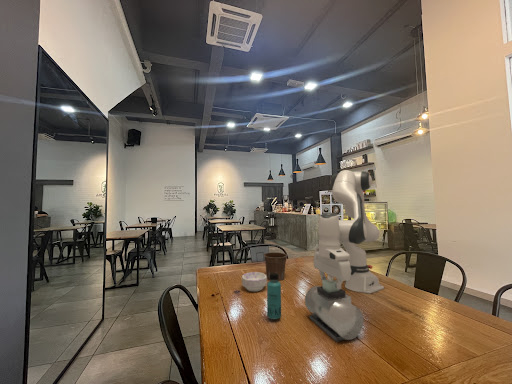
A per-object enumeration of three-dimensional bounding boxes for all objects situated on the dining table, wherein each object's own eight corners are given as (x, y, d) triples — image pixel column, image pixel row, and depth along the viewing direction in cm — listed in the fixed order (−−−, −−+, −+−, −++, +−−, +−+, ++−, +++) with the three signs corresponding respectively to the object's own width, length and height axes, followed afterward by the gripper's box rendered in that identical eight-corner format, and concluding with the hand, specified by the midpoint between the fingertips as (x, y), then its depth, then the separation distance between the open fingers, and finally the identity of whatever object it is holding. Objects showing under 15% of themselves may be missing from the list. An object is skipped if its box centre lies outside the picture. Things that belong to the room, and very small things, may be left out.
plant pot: (291, 276, 156) (290, 253, 157) (281, 283, 142) (280, 258, 143) (271, 273, 165) (270, 251, 165) (259, 279, 151) (259, 255, 152)
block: (332, 290, 96) (331, 272, 96) (339, 294, 91) (338, 275, 92) (322, 292, 94) (322, 273, 95) (329, 296, 90) (328, 276, 90)
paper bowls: (253, 296, 124) (252, 281, 124) (237, 288, 135) (236, 275, 136) (272, 289, 134) (271, 275, 134) (255, 282, 145) (255, 270, 146)
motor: (322, 308, 108) (321, 276, 109) (364, 338, 84) (362, 296, 84) (300, 312, 104) (300, 279, 105) (337, 345, 80) (336, 301, 81)
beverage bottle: (266, 315, 102) (265, 271, 103) (280, 315, 102) (279, 271, 103) (268, 323, 95) (267, 276, 96) (283, 322, 96) (282, 275, 97)
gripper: (309, 247, 103) (310, 277, 102) (339, 257, 83) (341, 294, 82) (321, 246, 105) (322, 276, 104) (353, 255, 85) (354, 292, 85)
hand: (330, 284), depth 93 cm, fingers open, 8 cm apart
